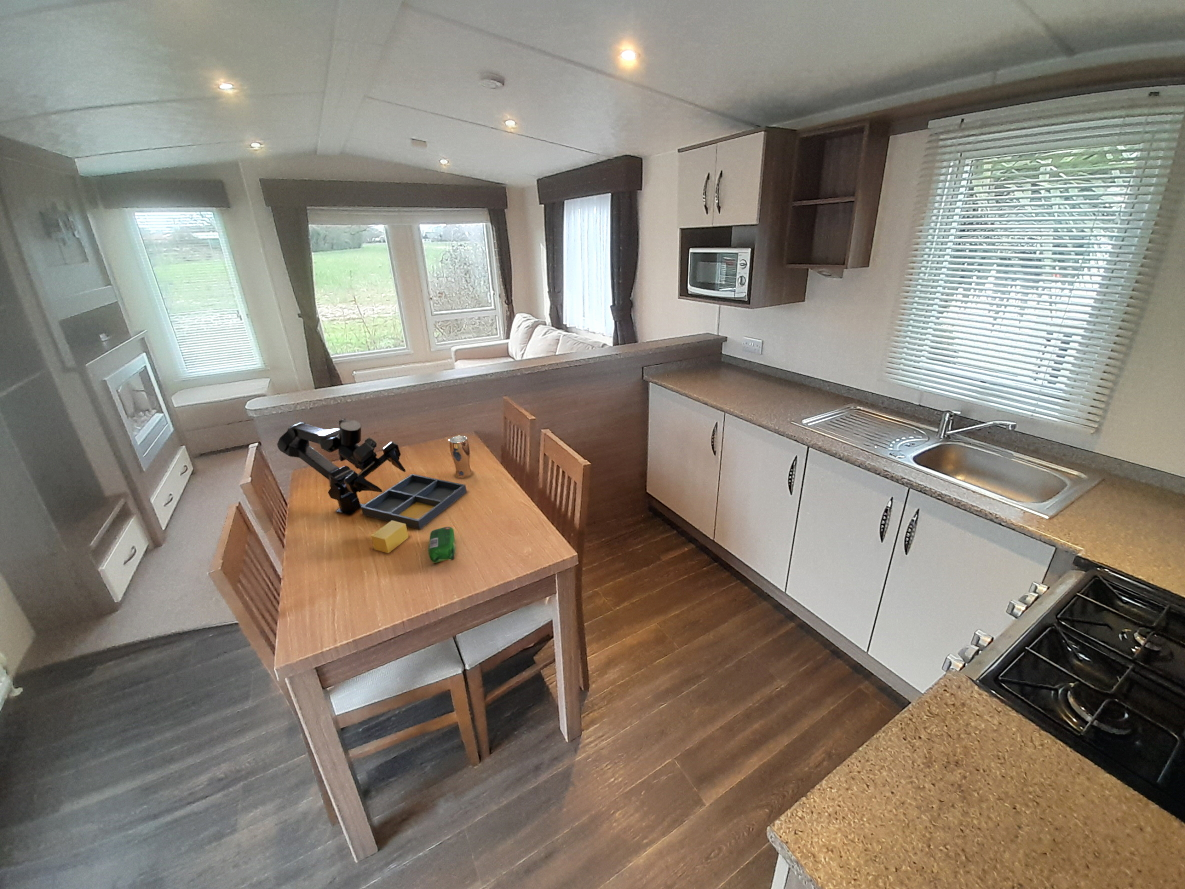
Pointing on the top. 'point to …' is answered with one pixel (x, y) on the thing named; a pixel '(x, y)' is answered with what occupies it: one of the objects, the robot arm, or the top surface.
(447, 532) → the snack package
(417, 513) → the tray
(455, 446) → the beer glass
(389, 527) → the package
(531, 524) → the top surface
